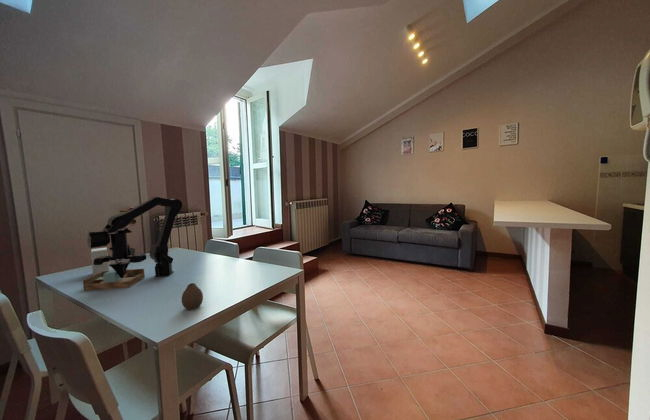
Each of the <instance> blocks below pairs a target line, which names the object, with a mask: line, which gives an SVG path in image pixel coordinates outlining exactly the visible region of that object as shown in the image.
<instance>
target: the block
mask: <svg viewBox="0 0 650 420" xmlns="http://www.w3.org/2000/svg"><path fill="white" fill-rule="evenodd" d="M103 279H104V283H109V282H116V281H118V280H120V279H121V278H120V276H119V275H118V274H117V272H116V271H113V270H109V271H108V272H106V273H104V274H103Z"/></svg>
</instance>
